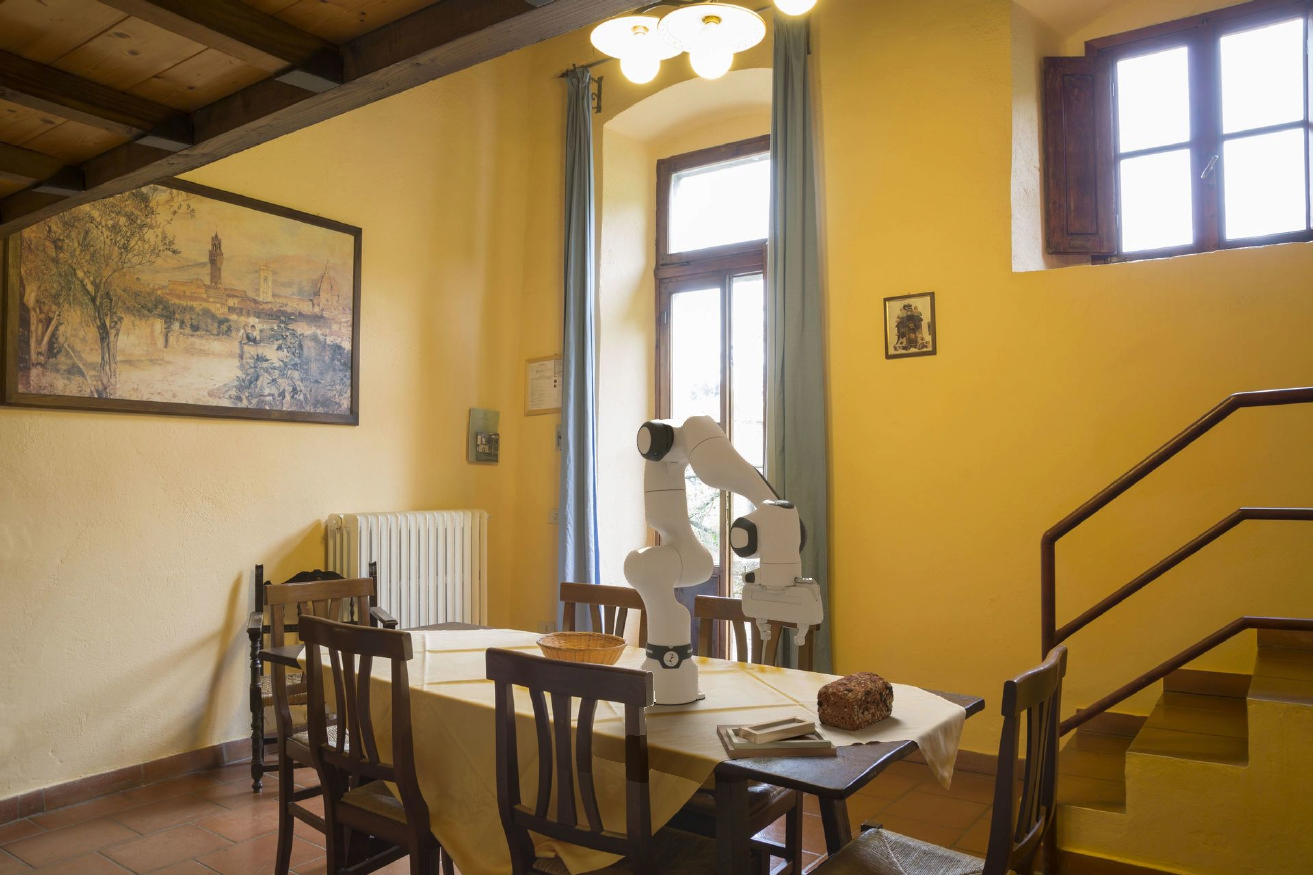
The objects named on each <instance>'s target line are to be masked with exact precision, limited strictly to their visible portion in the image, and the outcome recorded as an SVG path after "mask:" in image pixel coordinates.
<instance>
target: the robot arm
mask: <svg viewBox="0 0 1313 875" xmlns="http://www.w3.org/2000/svg"><path fill="white" fill-rule="evenodd" d="M636 446H637V447H636V448H637V450H638V452H639V454H640V456H641V457H642V458H643V459H645V464H644V472H643V501H644V516H645V521H646V524H647V525H648V526H649V527H650V528H651V529H652V530H655V531H656V532H657V533H658V534H659V535H660V537H661V539H662V543H663V545H649V546H643V547H640V548H636V549H633V550H631V551H630V552H628V553H627V555H626V557H625V560H624V562H623V575H624V577H625V580H626V582H627V583H628V585H630V586H631V587H632V588H633V589H634V590H636V592H637V593H638V595H639V596H640V597H641V600H642V601H643V604H644V607H645V611H646V621H647V622H646V624H647V641H646V642H645V647H644V648H645V656H646V658H645V660H644V661H643V662H642V663H641V665H640V667H639V668H638V669H642V670H646V671H652V673H654V691H655V699H656V703H655V704H659V705H681V704H686V703H687V704H688V703H691V702H694V701H696V699H697V700H700V699H701V700H702V699H704V697H705V698H706V693H705V692H704V691H703V690H701V689H699V666H698V664H697V663H696V662H695V661H694V660H693V658H692V657H693V643H692V641H691V621H692V620H691V618H692V617H691V613H690V611H689V609H688V608H687V607H686V606H685V605H683V604H682V603H680V602H678V600H677V599H676V596H675V588H686V587H695V586H697V585H701V584H702V583H706V582H708V581H709V580H710V578H711V577H712V575H713V572H714V569H715V567H714V564H715V562H714V559H713V556H712V553H711V552H710V550H709V549H707V547H705V546H704V545H703V544H702V543H701V542H700V541H699V539H698V538H697V537H696V534H695V533H694V530H693V527H692V526H691V521H690V517H689V512H688V511H689V510H688V509H689V508H688V500H687V499H688V498H687V486H686V477H685V473H686V469H687V467H688V465H690V467H691V469H692V472H693V473H694V474H695V476H696V477H697V479H699V480H700V482H702V483H703V484H704V485H706V486H708V487H711V488H713V489H718V490H722V491H723V490H724V491H727V492H730V493H734V494H737V495H740V496H742V497H744V498H745V499H747V500H748V501H750V502H751V503H752V504H753V506H754V507H755V508H756V509H755V510H753V511H751V512H750V513H747V514H746V515H743V516H739V517H737V518H736V519H735V520H734V521H733V522H732V524H731V526H730V528H729V534H728V535H729V545H730V547H731V549H732V551H733V552H734V553H735V555H736V556H738V557H739V558H742V559H747V560H748V559H749V560H750V559H751V560H754V559H759V563H758V564H759V567H757V568H754V569H751V570H750V571H747V572H744V573H742V576H741V578H742V579H741V580H742V581H741V582H742V583H743V584H744V585H743V587H742V589H741V611H742V613H743V615H744V616H745V617H746V618H755V624H756V626H757V627H758V630H759V634H760V640H762V641H770V640H771V639H772V632H771V630H769V628H768V626H767V624H766V623H768V620H771V621H779V622H787V623H794V624H796V628H797V629H799V630H798V631H797V632H798V633H797V635H794V636H793V640H794V641H793V644H794V645H796V646H804V645H805V643H806V642H805V641H806V640H805V638H806V635H807V633H808V631H809V629H810V626H812V625H813V626H814V625H819V624H821V623H822V622H823V620H824V609H823V608H824V607H823V601H822V594H821V587H820V584H818V582H817V581H816V580H815V579H814V578H810V577H809V578H805V577H802V558H801V553H802V552H803V551H804V550H805V548H806V546H807V543H808V538H809V534H808V529H807V526H806V524H805V523H804V521H803V520H802V518H801V517H800V516H799V512H798V508H797V506H796V505H795V503H794V502H791V501H788V500H783V499H782V498H781V497H780V496H779V494H778V493H777V492H776V490H775V489H774V488H773V486H772V485H771V483H770V482H769V481H768V480H767V479H766V477H765V476H764V475H763V473H761V471H760V470H758V469H757V467H755V466H753V464H751V463H750V462H748V461H747V460H746V459H745V458H744V457H743V456H742V455H741V454H740V453H739V452H738V451H737V449H736V448H735V447H734V446H733V444H732V442H731V441H730V439H729V438H728V436H727V435H726V433H725V432H724V430H723V429H722V428H721V426H720V425H719V424H718V423H717V422H716V421H715V420H714V418H712V417H711V416H710V415H708V414H705V413H697V414H693V415H691V416H689V417H688V418H677V419H675V418H674V419H672V418H671V419H662V420H661V419H652V420H647V421H646V422H644V423H642V425H641V426H640V428H639V430H638V432H637V435H636Z"/></svg>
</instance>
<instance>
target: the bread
mask: <svg viewBox="0 0 1313 875" xmlns="http://www.w3.org/2000/svg"><path fill="white" fill-rule="evenodd" d="M893 689H894V687H893V686H892V683H890V682H889V681H887V680H886V678H884V677H881V675H879V674H877V673H873V672H868V671H857V672H855V673H851V674H850V675H845V676H844V677H842V678H839V679H837V680H834V681H832V682H829V683H827V684H825V685H822V687H820V688H819V690H818V692H817V695H816V696H817V697H816V699H817V702H816V705H817V708H816V709H817V710H816V711H817V714H818V721H819V723H821V724H825V725H826V726H828V725H830V726H829V727H834V726H835V727H839V728H840V727H841V728H840V729H842V728H843V730H848V731H850V730H852V731H853V732H857V731H859V730H861V729H864V728H866V727H865V726H867V727H869V726H871V725H873V724H876V723H878V722H879V720H880V721H882V719H883V720H885V719H887V718H888V717H890V716H891V715H892V712H893V708H894V707H893V703H894V700H895V699H894V698H895V697H894V690H893ZM886 717H887V718H886ZM877 721H878V722H877ZM875 722H876V723H875ZM872 723H873V724H872ZM868 725H869V726H868ZM863 727H864V728H863ZM856 730H857V731H856Z"/></svg>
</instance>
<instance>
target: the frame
mask: <svg viewBox="0 0 1313 875" xmlns="http://www.w3.org/2000/svg"><path fill="white" fill-rule="evenodd" d="M815 725H816V723H815V721H812V720H809V719H806V718H803V717H800V716H797V715H792V716H789V717H783V718H777V719H773V720H768V721H763V722H759V723H752V725H748V726H743V727H739V737H740V738H742V739H745V740H748V741H750V742H753V743H755V744H762V743H766V742H771V741H776V740H780V739H785V738H789V737H794V736H798V735H803V734H807V733H812V732H815Z"/></svg>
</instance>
